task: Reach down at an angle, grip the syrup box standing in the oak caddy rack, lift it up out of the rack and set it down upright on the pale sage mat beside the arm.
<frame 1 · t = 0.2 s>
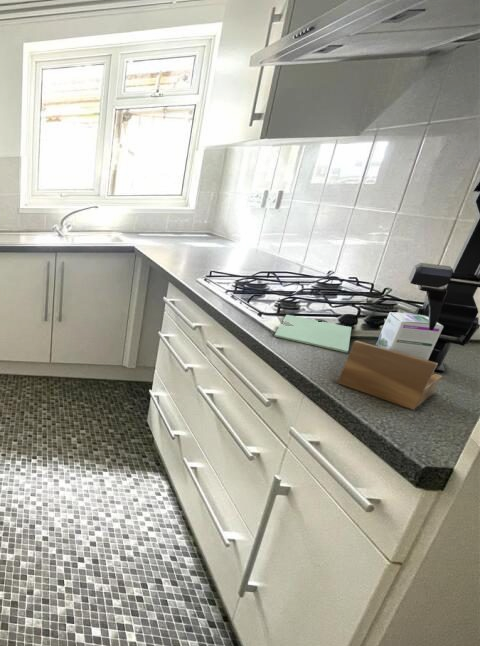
hand: (472, 337, 65), 15 cm above the countertop, tool pointing down, fingers open, 9 cm apart
mat: (313, 332, 106), on the countertop
syrup box: (383, 389, 80), resting in caddy rack
caddy rack: (384, 388, 80), on the countertop
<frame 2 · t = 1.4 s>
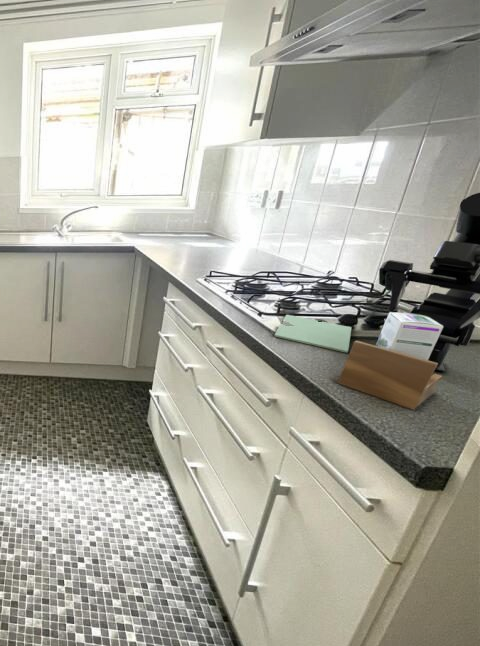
hand: (422, 319, 77), 13 cm above the countertop, tool tilted 45°, fingers open, 9 cm apart
nothing on the countertop moved.
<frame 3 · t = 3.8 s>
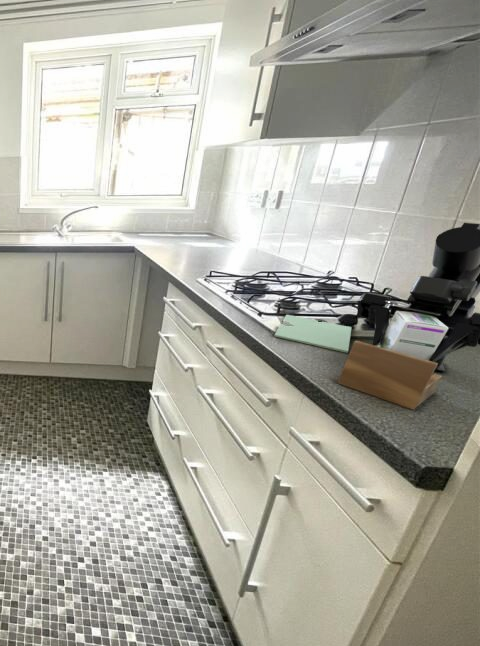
hand: (400, 353, 76), 8 cm above the countertop, tool tilted 45°, fingers closed on syrup box, 7 cm apart
syrup box: (382, 387, 80), resting in caddy rack, touching gripper
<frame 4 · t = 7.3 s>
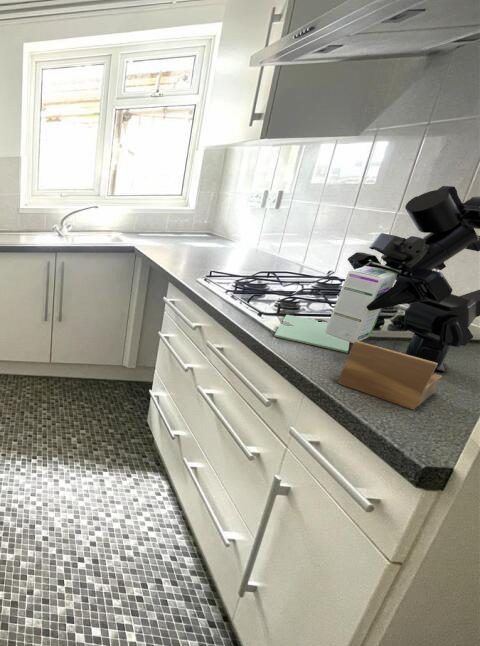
hand: (352, 302, 86), 13 cm above the countertop, tool tilted 45°, fingers closed on syrup box, 7 cm apart
syrup box: (345, 336, 89), point 6 cm above the countertop, touching gripper
when the fingers open (8 cm above the countertop, at t = 11.3 s): syrup box stays where it is, resting on mat.
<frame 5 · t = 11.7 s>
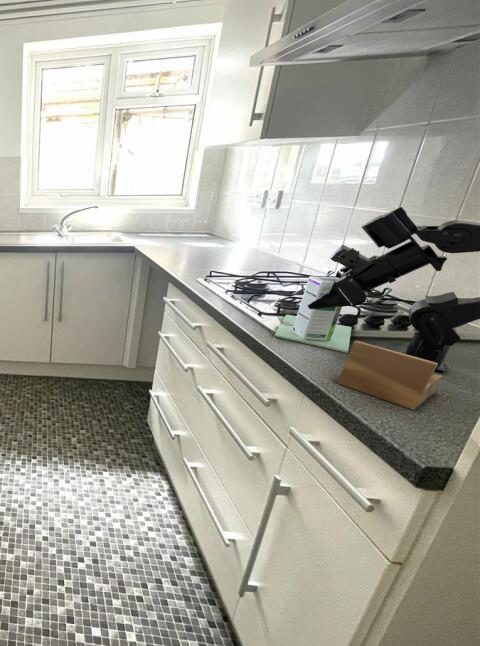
hand: (310, 302, 100), 9 cm above the countertop, tool tilted 45°, fingers open, 9 cm apart
syrup box: (309, 336, 102), resting on mat, touching gripper
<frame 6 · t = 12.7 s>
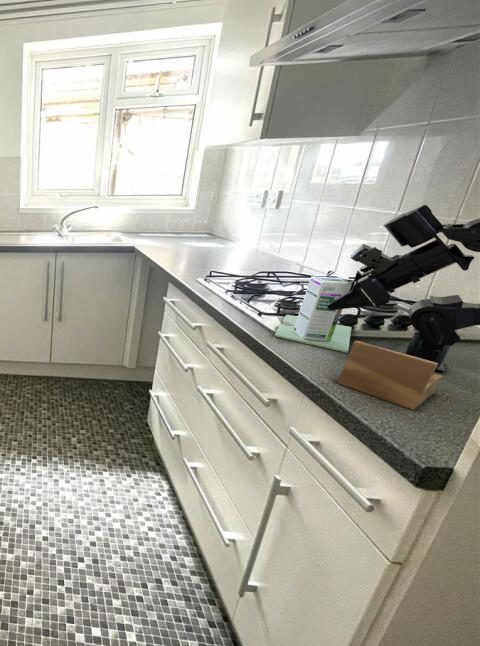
hand: (330, 303, 97), 10 cm above the countertop, tool tilted 45°, fingers open, 9 cm apart
nothing on the countertop moved.
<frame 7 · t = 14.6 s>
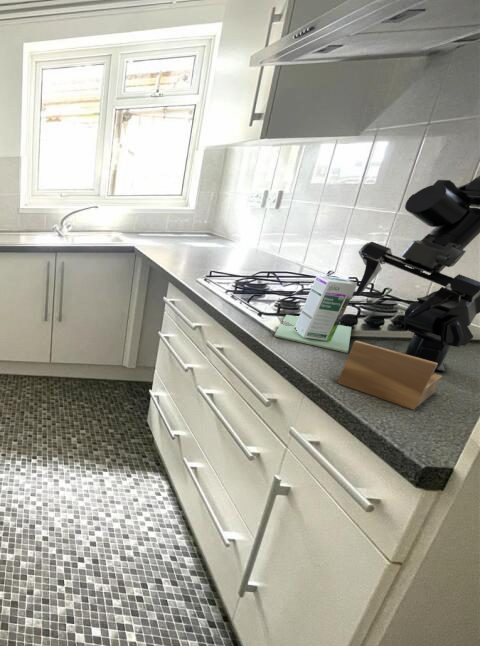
hand: (381, 306, 85), 13 cm above the countertop, tool tilted 30°, fingers open, 9 cm apart
syrup box: (310, 336, 102), point 1 cm above the countertop, touching mat
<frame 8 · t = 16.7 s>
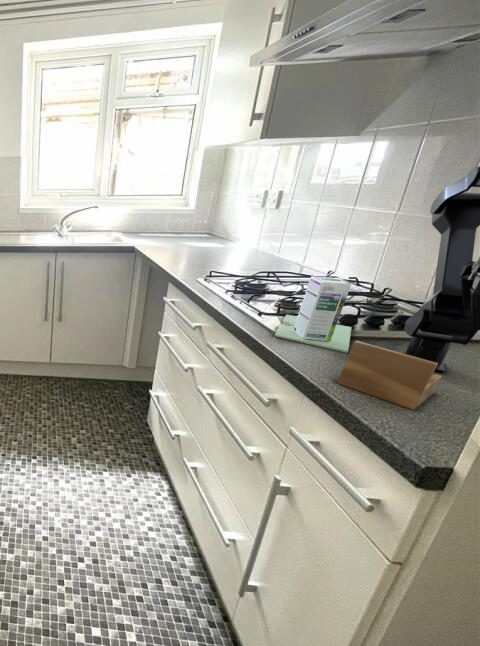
hand: (472, 323, 76), 13 cm above the countertop, tool pointing down, fingers open, 9 cm apart
at the end: syrup box inside the target area on the mat (5.1 cm from its centre), point 0.3 cm above the mat's base; syrup box tilted 0°; syrup box touching mat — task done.
